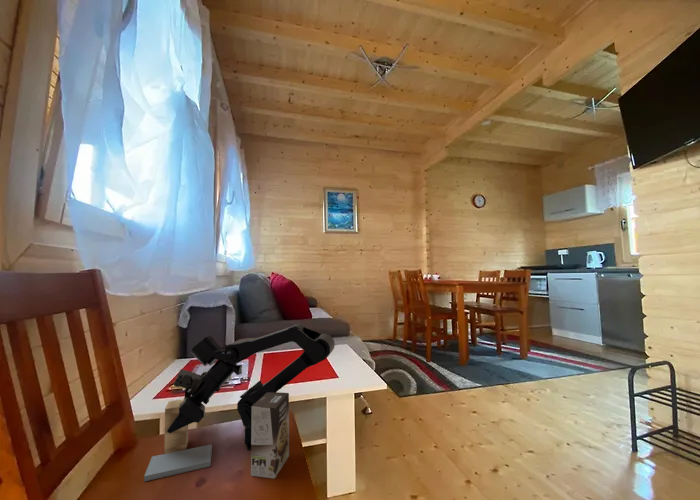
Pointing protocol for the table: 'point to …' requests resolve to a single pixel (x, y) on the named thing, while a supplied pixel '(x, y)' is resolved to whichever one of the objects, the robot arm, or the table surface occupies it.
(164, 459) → the slate board
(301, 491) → the table surface
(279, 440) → the coffee box
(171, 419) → the block
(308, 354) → the robot arm
